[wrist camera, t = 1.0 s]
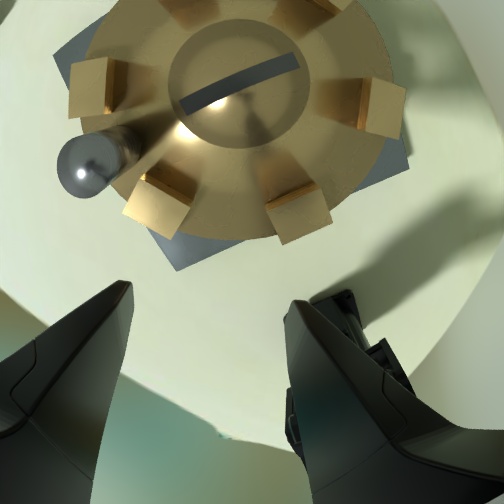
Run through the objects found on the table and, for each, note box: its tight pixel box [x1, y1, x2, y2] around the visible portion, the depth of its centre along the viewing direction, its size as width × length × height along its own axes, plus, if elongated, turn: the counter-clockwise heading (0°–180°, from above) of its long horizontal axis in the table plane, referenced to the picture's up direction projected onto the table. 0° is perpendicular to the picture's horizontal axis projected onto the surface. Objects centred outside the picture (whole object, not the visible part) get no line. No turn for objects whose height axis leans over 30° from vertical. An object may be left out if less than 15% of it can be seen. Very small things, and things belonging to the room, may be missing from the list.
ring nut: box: [57, 0, 406, 245], centre depth 11 cm, size 16×16×7 cm
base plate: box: [53, 12, 409, 272], centre depth 15 cm, size 18×18×2 cm
